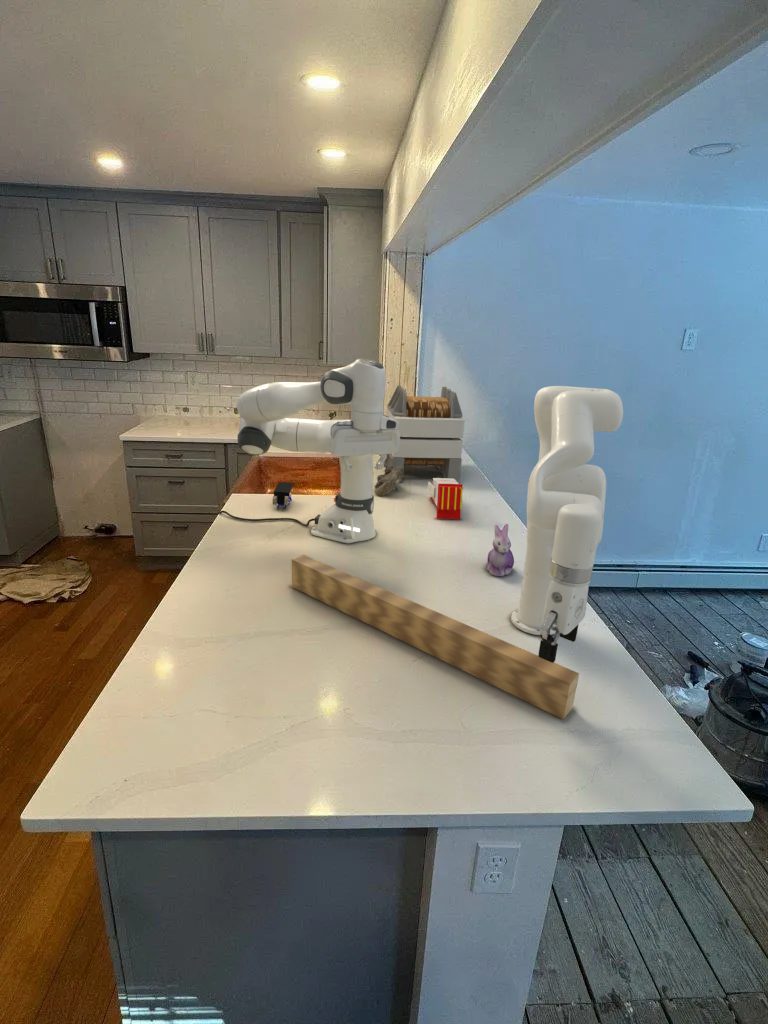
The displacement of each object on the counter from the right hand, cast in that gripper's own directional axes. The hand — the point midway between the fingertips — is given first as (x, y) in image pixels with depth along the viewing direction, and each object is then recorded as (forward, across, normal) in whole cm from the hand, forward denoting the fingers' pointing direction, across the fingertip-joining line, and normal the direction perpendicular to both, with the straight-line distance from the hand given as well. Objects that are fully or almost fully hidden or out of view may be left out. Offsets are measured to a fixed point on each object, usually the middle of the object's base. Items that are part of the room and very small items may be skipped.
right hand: (557, 648), depth 111 cm
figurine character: (+13, +41, +130) cm, 137 cm away
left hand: (-19, +18, +68) cm, 73 cm away
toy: (+13, +86, +84) cm, 121 cm away
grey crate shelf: (+13, +119, +121) cm, 171 cm away
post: (+13, 0, +36) cm, 38 cm away
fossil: (+13, +88, +115) cm, 145 cm away
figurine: (+13, +49, +38) cm, 64 cm away
